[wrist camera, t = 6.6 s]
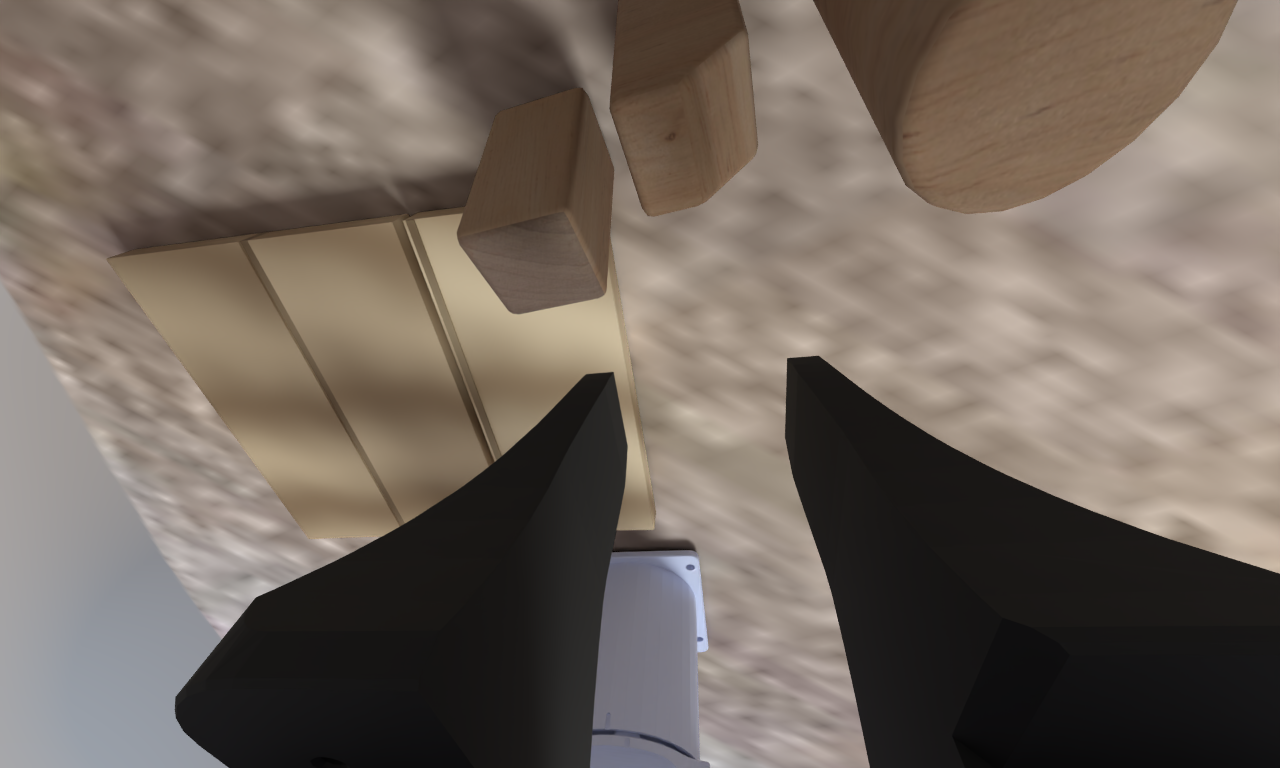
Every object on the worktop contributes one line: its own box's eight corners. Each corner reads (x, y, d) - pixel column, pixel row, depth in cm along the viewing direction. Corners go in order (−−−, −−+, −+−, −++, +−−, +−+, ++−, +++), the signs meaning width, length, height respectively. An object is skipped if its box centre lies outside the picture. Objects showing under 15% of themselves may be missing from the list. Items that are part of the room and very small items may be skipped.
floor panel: (520, 514, 27) (514, 531, 26) (322, 522, 28) (308, 538, 27) (408, 213, 18) (392, 221, 17) (135, 249, 20) (105, 258, 19)
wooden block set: (560, 206, 20) (526, 425, 14) (431, -60, 13) (264, 154, 7) (1071, 77, 16) (1315, 312, 10) (1271, -411, 9) (2381, -545, 3)
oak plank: (655, 511, 25) (654, 531, 24) (528, 514, 27) (520, 532, 26) (602, 189, 17) (596, 197, 16) (418, 212, 18) (401, 221, 17)
